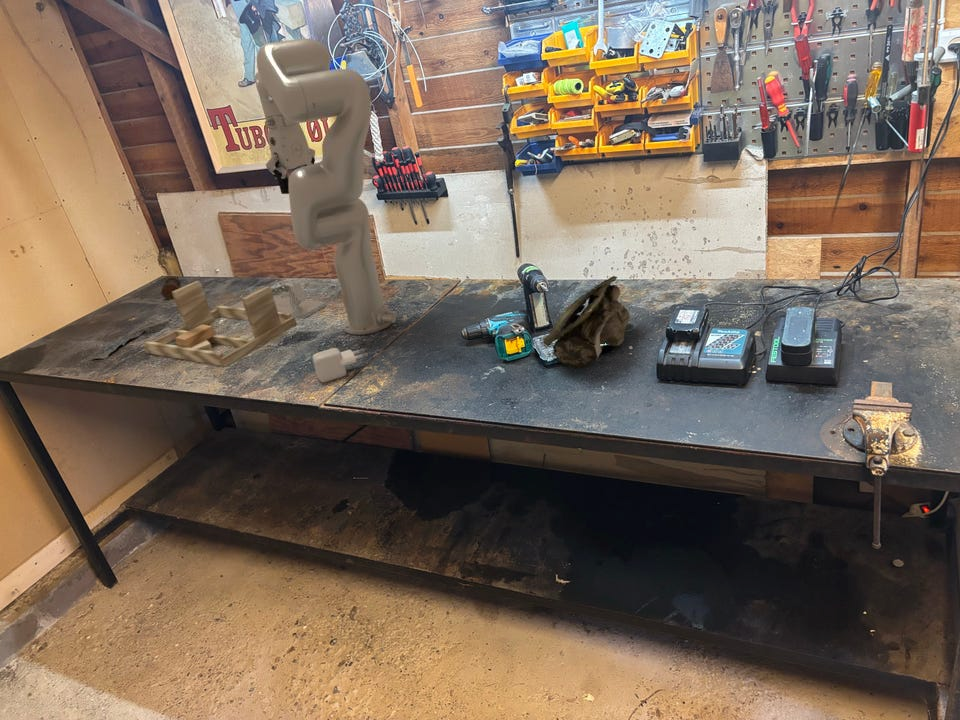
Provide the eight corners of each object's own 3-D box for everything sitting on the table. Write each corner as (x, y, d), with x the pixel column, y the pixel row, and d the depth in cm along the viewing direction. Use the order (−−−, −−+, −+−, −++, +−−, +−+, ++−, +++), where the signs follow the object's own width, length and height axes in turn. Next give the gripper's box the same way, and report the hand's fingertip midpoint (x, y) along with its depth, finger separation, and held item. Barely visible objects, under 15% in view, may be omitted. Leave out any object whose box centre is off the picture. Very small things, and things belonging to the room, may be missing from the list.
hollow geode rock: (570, 402, 123) (620, 360, 113) (522, 356, 123) (567, 310, 113) (617, 336, 144) (663, 295, 133) (576, 297, 144) (618, 253, 134)
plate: (326, 305, 176) (325, 301, 176) (304, 318, 169) (303, 315, 169) (253, 298, 190) (252, 295, 190) (230, 310, 183) (229, 307, 183)
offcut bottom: (214, 354, 157) (210, 343, 156) (198, 360, 155) (193, 349, 154) (203, 343, 164) (199, 333, 163) (187, 349, 162) (183, 338, 161)
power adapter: (366, 361, 141) (360, 337, 138) (372, 369, 137) (366, 345, 134) (317, 376, 137) (310, 352, 135) (321, 385, 133) (314, 361, 131)
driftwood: (105, 362, 163) (101, 355, 162) (83, 363, 164) (80, 355, 163) (157, 328, 180) (155, 322, 180) (137, 329, 182) (134, 322, 181)
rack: (296, 324, 167) (284, 280, 161) (225, 366, 149) (208, 319, 143) (219, 315, 181) (205, 275, 176) (146, 352, 163) (128, 309, 158)
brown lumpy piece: (180, 290, 214) (177, 302, 201) (163, 286, 212) (159, 298, 199) (183, 274, 213) (181, 285, 200) (167, 270, 211) (163, 281, 198)
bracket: (300, 302, 171) (279, 270, 170) (262, 327, 185) (242, 298, 184) (308, 298, 174) (287, 266, 172) (270, 323, 188) (251, 293, 186)
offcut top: (188, 348, 155) (184, 339, 153) (178, 346, 157) (174, 337, 155) (215, 335, 160) (212, 326, 159) (205, 333, 162) (202, 324, 161)
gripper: (267, 127, 155) (286, 197, 163) (315, 115, 168) (330, 180, 176) (246, 129, 159) (266, 197, 167) (294, 117, 172) (310, 181, 180)
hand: (299, 188), depth 171 cm, fingers open, 9 cm apart
